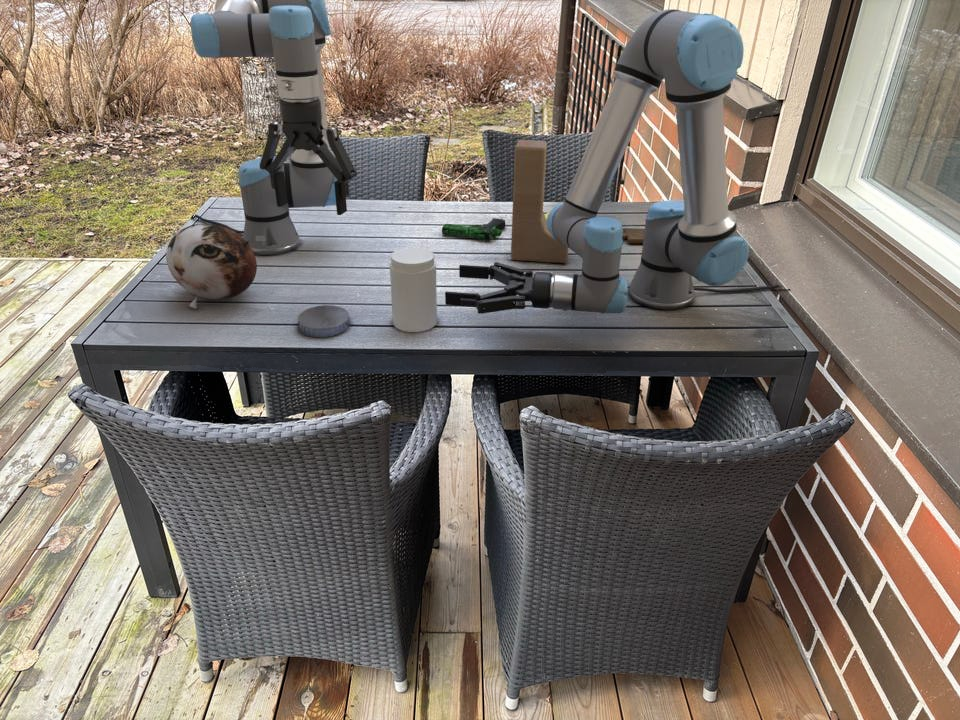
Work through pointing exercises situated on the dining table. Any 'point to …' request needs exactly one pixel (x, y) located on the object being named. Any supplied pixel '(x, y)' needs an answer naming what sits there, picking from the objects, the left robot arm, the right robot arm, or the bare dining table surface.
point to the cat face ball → (211, 261)
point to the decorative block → (532, 207)
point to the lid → (323, 321)
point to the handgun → (476, 230)
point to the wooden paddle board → (633, 235)
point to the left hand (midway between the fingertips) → (311, 209)
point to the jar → (413, 289)
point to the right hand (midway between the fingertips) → (452, 284)
